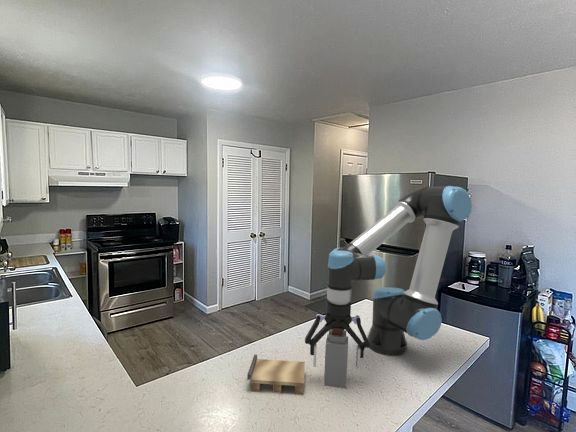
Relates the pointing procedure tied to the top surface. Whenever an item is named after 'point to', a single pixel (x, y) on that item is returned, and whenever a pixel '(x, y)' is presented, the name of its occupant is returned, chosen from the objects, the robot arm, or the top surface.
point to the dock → (276, 374)
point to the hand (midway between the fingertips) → (336, 366)
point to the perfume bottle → (336, 358)
